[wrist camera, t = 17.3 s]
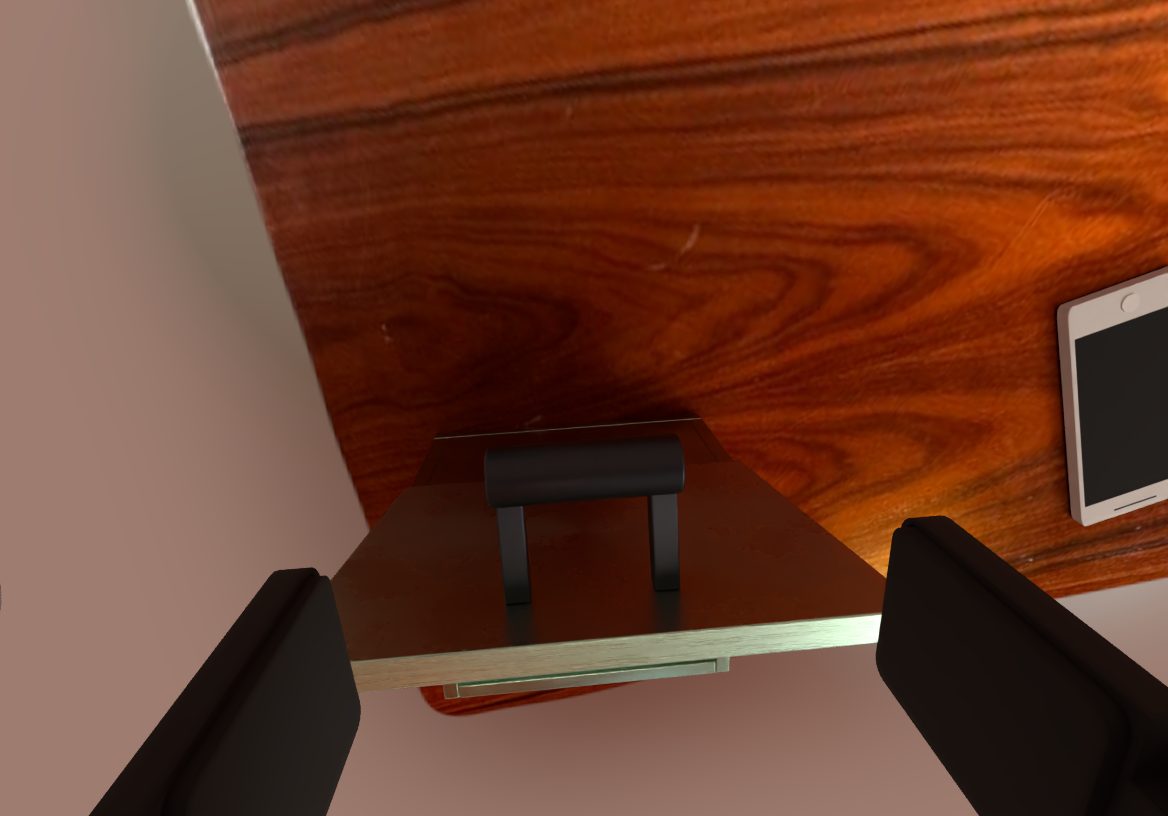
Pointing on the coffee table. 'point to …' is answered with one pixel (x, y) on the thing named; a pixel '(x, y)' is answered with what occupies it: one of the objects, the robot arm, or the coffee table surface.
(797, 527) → the lid
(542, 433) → the box
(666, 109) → the coffee table surface
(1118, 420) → the smartphone
